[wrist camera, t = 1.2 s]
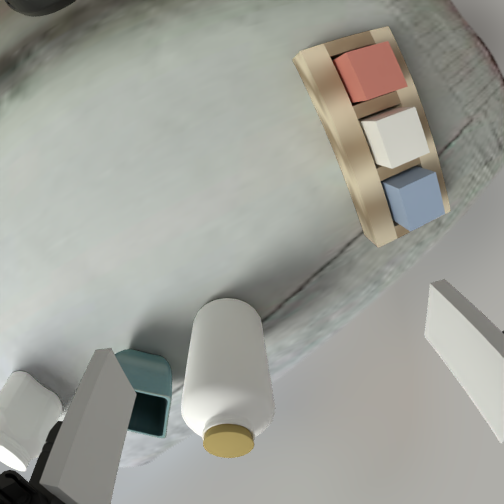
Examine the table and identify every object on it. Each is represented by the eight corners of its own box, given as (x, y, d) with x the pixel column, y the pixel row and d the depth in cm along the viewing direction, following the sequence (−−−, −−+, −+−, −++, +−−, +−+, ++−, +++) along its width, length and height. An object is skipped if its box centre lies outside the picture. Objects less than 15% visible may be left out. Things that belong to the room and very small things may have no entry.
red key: (329, 62, 27) (346, 52, 22) (366, 51, 26) (388, 41, 22) (347, 103, 28) (367, 100, 24) (384, 90, 28) (407, 86, 23)
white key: (354, 121, 29) (375, 121, 24) (390, 107, 29) (415, 106, 24) (370, 162, 31) (392, 168, 26) (404, 147, 30) (429, 152, 26)
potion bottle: (197, 350, 40) (186, 469, 24) (189, 295, 37) (166, 415, 21) (261, 348, 41) (278, 466, 24) (261, 292, 38) (282, 411, 21)
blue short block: (376, 179, 31) (398, 189, 27) (410, 164, 31) (435, 171, 26) (388, 217, 33) (410, 231, 28) (420, 201, 33) (445, 213, 28)
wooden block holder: (292, 59, 28) (300, 51, 25) (372, 34, 27) (388, 26, 23) (364, 235, 36) (378, 247, 32) (432, 202, 35) (450, 211, 31)
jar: (5, 385, 43) (-28, 441, 29) (16, 362, 40) (-23, 424, 27) (53, 421, 46) (28, 481, 32) (69, 403, 44) (41, 470, 30)
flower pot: (180, 348, 40) (171, 398, 32) (173, 392, 43) (165, 440, 35) (116, 333, 39) (95, 378, 30) (115, 378, 42) (99, 423, 34)
